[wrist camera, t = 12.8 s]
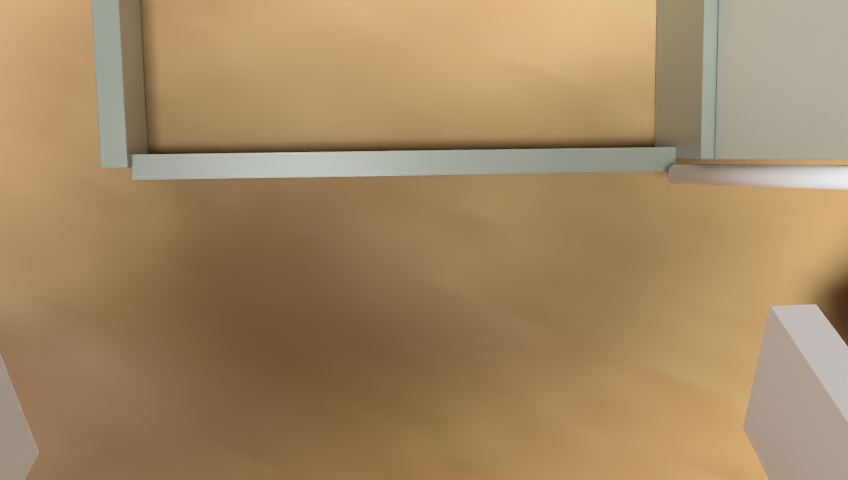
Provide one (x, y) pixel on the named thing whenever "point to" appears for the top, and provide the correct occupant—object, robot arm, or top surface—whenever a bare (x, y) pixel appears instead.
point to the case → (674, 139)
